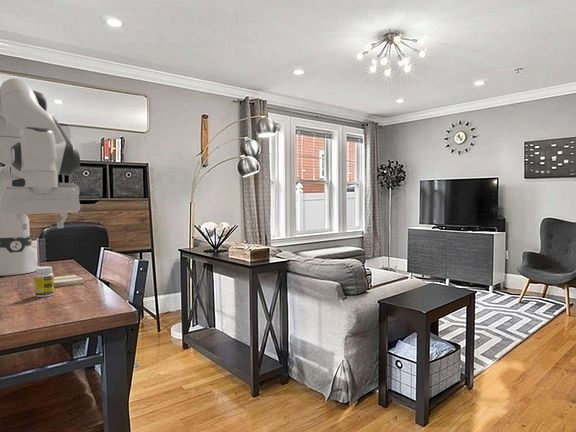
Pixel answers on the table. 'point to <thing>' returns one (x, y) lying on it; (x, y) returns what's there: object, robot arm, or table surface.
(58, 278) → the ash board
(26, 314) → the table surface
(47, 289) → the supplement bottle
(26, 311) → the table surface
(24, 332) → the table surface
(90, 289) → the table surface
